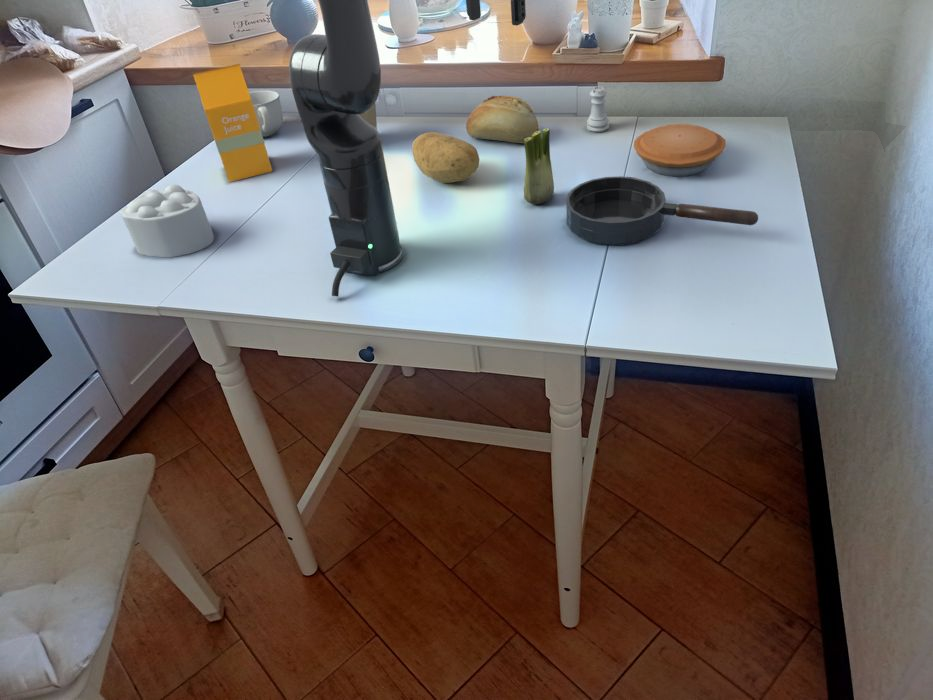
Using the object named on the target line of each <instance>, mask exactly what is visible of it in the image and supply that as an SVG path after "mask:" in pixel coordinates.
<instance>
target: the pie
mask: <svg viewBox="0 0 933 700" xmlns="http://www.w3.org/2000/svg"><path fill="white" fill-rule="evenodd" d="M726 144H727V143H726V138H725V137H723V136H722V135H720V134H719V133H717V132H715V131H713V130H711V129H709V128H707V127H704V126H700V125H695V124H688V123H674V124H665V125H661V126H657V127H653V128H651V129H650V130H648V131H645V132H643V133H641V134H640V135H638V136H637V137H636V139H634V141H633V149H634V150H635V152H636V154H637V155H638V156H639V157H640V159H641V160H642V162H643V164H644V165H645V167H646V168H647V169H648V170H650V171H651V172H653V173H656V174H659V175H662V176H667V177H688V176H693V175H697V174H700V173H702V172H705V170H707V169H708V168H709V167H710V166H711V165H712V164H713V162H715V160H716V159H717V158H718V157H719V156H720V155H721V154H722V153H723V152H724V150H725V148H726Z"/></svg>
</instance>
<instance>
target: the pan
mask: <svg viewBox="0 0 933 700" xmlns="http://www.w3.org/2000/svg"><path fill="white" fill-rule="evenodd" d="M665 203H667V199H666V194H665V192H664V191H663V190H662V189H661V188H660V187H659V186H658V185H657V184H655V183H652V182H650V181H649V180H645V179H641V178H638V177H630V176H622V175H621V176H620V175H619V176H604V177H598V178H594V179H590V180H587V181H584V182H582V183H580V184H578V185H576V186H575V187H573V188H572V189H570V191H569V193H568V194H567V195H566V199H565V207H566V208H565V210H566V215H565V216H566V226H567V227H568V229H569V230H570V232H571V233H573V234H575V235H576V236H577V237H579V238H580V239H582V240H584V241H587V242H590V243H593V244H596V245H597V244H598V245H605V246H622V245H623V246H624V245H631V244H634V243H638V242H642V241H644V240H647V239H648V238H649V237H650V238H651V236H653V235H655V234H656V233H657V232H658V231H660V230H661V228H662V227H663V224H664V222H665V216H666V215H664V214H662V212H663V206H664V204H665Z"/></svg>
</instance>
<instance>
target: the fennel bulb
mask: <svg viewBox="0 0 933 700" xmlns="http://www.w3.org/2000/svg"><path fill="white" fill-rule="evenodd" d="M550 130H551V129H550V128H548V127H547V128H544V129H543V128H542V129H541V130H539V131H537V132H534V134H533V135H532V138H531V137H529V138H526V139H524V143H523V144H524V153H525V172H524V183H523V184H524V185H523V198H524V199H525V201H526V202H527V203H529V204H532V205H541V204H545V203H547V202H549V201H550V200H552V199H553V196H554V192H555V183H554V176H553V175H554V174H553V168H552V167H553V166H552V161H551V149H550V147H551V146H550V141H551V140H550V139H551V138H550V135H551V134H550V133H551V132H550Z"/></svg>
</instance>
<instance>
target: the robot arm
mask: <svg viewBox="0 0 933 700" xmlns="http://www.w3.org/2000/svg"><path fill="white" fill-rule="evenodd" d="M317 1H318V4H319V9H320V12H321V16H322V22H323V27H324V34H320V33H319V34H308V35H305V36H303V37H302V38H300V39H299V40H298V41H297V42H296V43H295V45H294V47H293V48H292V50H291V52H290V53H291V54H290V57H289V65H288V72H289V73H288V75H289V83H290V88H291V91H292V96H293V98H294V103H295V106H296V109H297V111H298V115H299V119H300V122H301V124H302V128H303V131H304V134H305V137H306V140H307V142H308V143H309V145H310V147H311V148H312V149H313V150H314V152H315V155H316V157H317V161H318V165H319V169H320V173H321V175H322V176H321V177H322V181H323V185H324V189H325V192H326V197H327V200H328V205H329V209H330V212H331V214H330V215H329V216H328V221H329V225H330V229H331V233H332V238H333V242H334V245H335V248H333V250H332V251H330V254H329V255H330V259H331V262H332V266H333V268H335V269H338V271H337V273H336V275H335V277H334V279H333V282H332V288H331V296H332V297H339V293H340V285H341V282H342V280H343V277H344V275H345V274H346V273H351V274H352V273H353V274H357V275H363V276H370V277H377V276H378V275H379V274H380V273H383V272H386V271H387V270H390V269H392V268H394V267H395V266H397V265H398V264H399V263H400V262H401V260H402V259H403V256H404V252H403V247H402V245H401V241H400V239H401V238H400V235H399V230H398V224H397V218H396V214H395V209H394V203H393V198H392V197H393V196H392V192H391V187H390V182H389V176H388V171H387V165H386V160H385V159H386V158H385V155H384V149H383V143H382V138H381V135H380V133H379V131H378V129H377V130H376V129H375V128H374V127H373V126H371V125H370V124H369V123H367V122H366V121H365V120H364V119H363V118H361V117H360V115H359V114H363V113H366V112H367V111H369V110H370V109H371V108H372V107H373V106H374V104H375V105H376V102H377V100H378V99H379V98H378V97H379V94H380V90H381V84H382V82H381V81H382V71H381V70H382V69H381V61H380V55H379V50H378V43H377V39H376V35H375V29H374V26H373V20H372V16H371V11H370V6H369V1H368V0H317ZM465 7H466V14H467V17H468V19H469V20H470V21H476V20H479V19H480V18H481V17H482V10H481V0H465ZM526 11H527V9H526V0H510V13H511V25H512V26H520V25H521V24H523V23H524V22H525V20H526V17H527V12H526Z"/></svg>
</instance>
